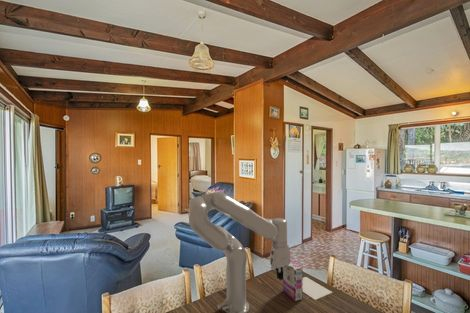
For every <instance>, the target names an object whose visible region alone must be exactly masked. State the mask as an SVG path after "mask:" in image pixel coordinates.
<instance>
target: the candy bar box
mask: <svg viewBox="0 0 470 313" xmlns="http://www.w3.org/2000/svg"><path fill="white" fill-rule="evenodd" d="M302 278H303V267H301V266H300V265H299V264H297V263H295V262H294V261H292V259H290V264H289V265H288V266H286V267H285V270H284V271H283V281H282V286H283V287H282V288H283V289H282V291H283V292H284V293H285V294H286V295H287V296H289V297H290V298H291V299H292V300H293V301H294V302H298V301H301V300H303V298H304V297H303V292H302Z"/></svg>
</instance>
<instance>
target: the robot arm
mask: <svg viewBox="0 0 470 313" xmlns="http://www.w3.org/2000/svg"><path fill="white" fill-rule="evenodd" d="M188 210H189V217H188V223H189V227H190V229H191V231H193V232H194V234H196V235H197V236H198V237H199V238H201V239H202V241H205V243H207V244H208V245H210V246H211V247H212V248H213V250H216V251H219V252H220V251H221V252H223V254H224V255H225V258H226V268H225V269H226V270H225V271H226V272H225V273H226V274H225V277H226V282H225V283H226V284H225V285H226V298H224V301H223V302H222V303H219V304H217V305H216V306H217V309H218V310H220V309H222V311H223V312H225V313H248V312H249V310H250V304H249V302H248V301H247V280H246V279H247V277H246V276H247V271H246V270H247V261H248V260H247V259H248V255H247V251H246V249H245V247H244V246H243V244H242V243H241V242H240V241H239V240H238V239H237V237H235V236H233V235H232V234H231V233H230V231H227V230H226V229H225V228H224V227H222V226H221V225H218V224H217V225H215V224H214V222H212V221H211V220H209V218H208V213H209V211H213V210H215V211H218V212H220V213H221V214H223V215H225V216H226V217H229V218H230V219H232V220H233V221H235V222H236V223H238V224H240V225H242V226H244V227H245V228H247V229H250V230H251V231H252V232H254V233H255V234H257V235H260V236H261V237H263V238H264V239H267V240H272V242H271V243H270V245H271V247H270V254H269V263H270V264H269V265H271V266H270V269H271V270H272V271H276V278H277V279H278V280H280V281H282V280H283V271H284V270H285V267H286V266H288V265H289V264H290V260H291V252H290V246H289V245H288V222H287V220H286V219H285V218H282V217H277V218H276V217H275V218H264V217H262V216H260V215H259V214H257V213H256V212H254V210H252V209H251V208H249V207H248V206H246V205H245V204H243V203H241V202H239V201H237V200H235V199H234V198H233V197H231V196H229V195H227V194H226V193H225V192H223V191H215V192H211V193H206V194H202V195H197V196H195V197H193V198H192V199H190V200H189V202H188ZM210 246H209V247H210Z"/></svg>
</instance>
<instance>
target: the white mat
mask: <svg viewBox="0 0 470 313" xmlns="http://www.w3.org/2000/svg"><path fill="white" fill-rule="evenodd" d="M303 293H304V295H306V296H308V297H309V298H311V299H312V300H314V301H317V300H319V299H323V298H324V297H326V296H328V295H331V294H333V291H332V290H329V289H327V288H326V287H325V286H322V285H321V284H319V283H317V282H316V281H314V280H312V279H311V278H309V277H307V276H304V277H302V294H303Z"/></svg>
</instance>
